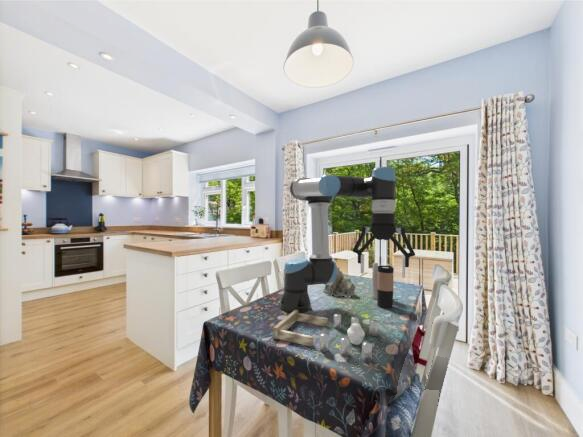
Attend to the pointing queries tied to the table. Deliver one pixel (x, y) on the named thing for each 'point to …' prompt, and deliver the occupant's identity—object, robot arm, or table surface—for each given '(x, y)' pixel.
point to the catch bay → (296, 337)
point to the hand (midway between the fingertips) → (382, 274)
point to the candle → (374, 280)
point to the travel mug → (385, 287)
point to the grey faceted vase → (355, 333)
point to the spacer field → (345, 340)
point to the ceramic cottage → (340, 286)
